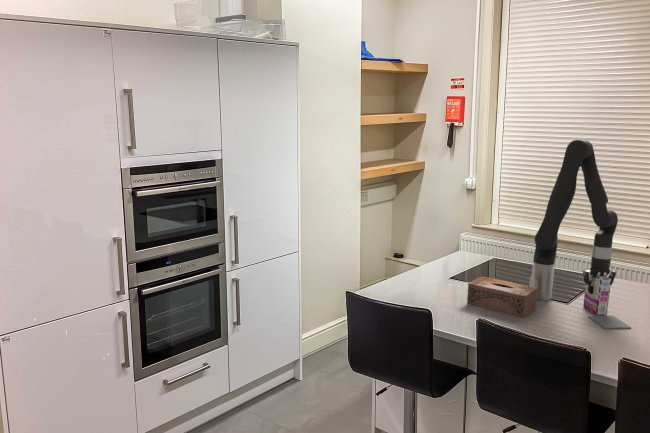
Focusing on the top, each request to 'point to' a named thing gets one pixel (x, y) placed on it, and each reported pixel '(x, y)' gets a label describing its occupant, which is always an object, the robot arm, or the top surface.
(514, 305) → the tissue box cover
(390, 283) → the top surface
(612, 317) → the coaster
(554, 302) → the top surface
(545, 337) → the top surface
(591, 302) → the candy bar box
